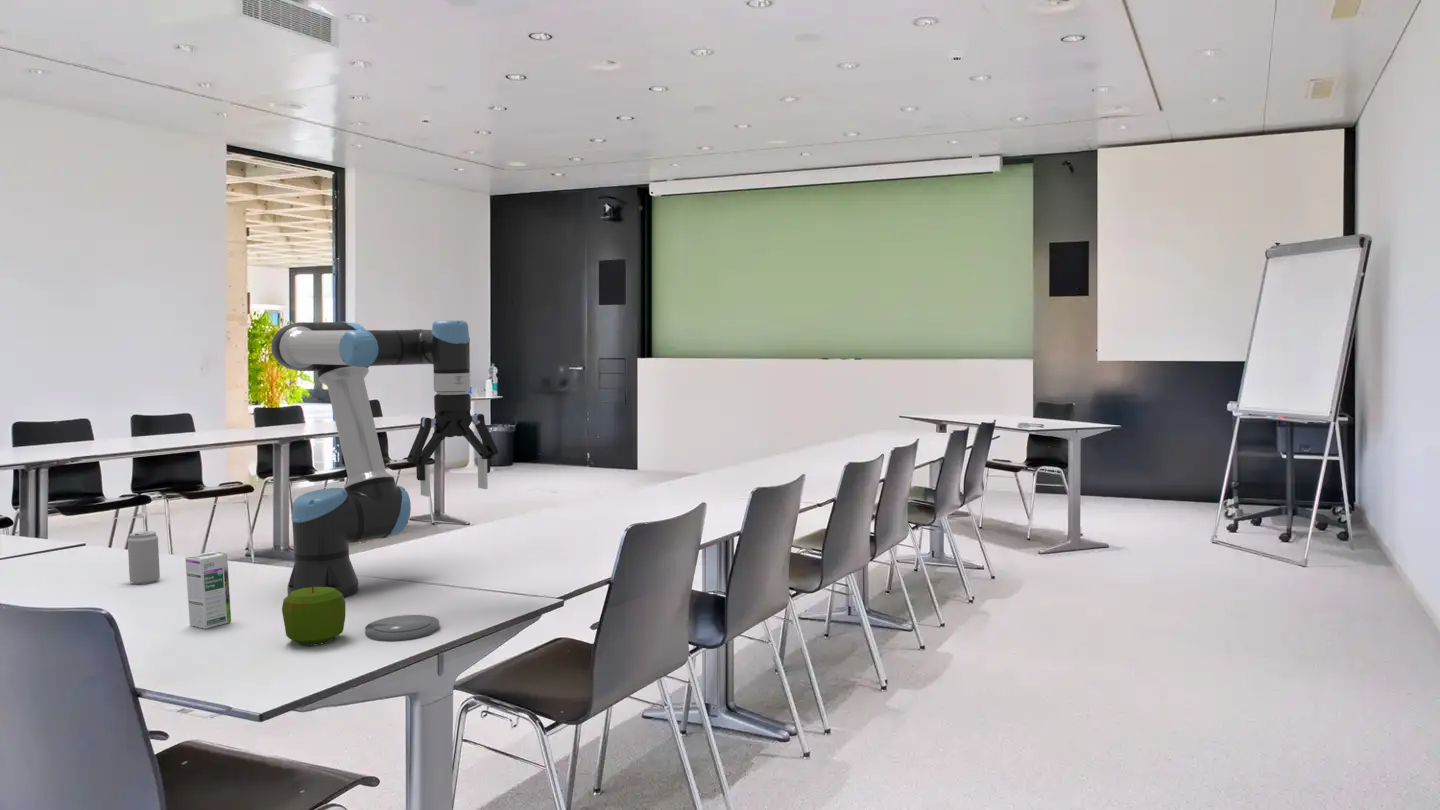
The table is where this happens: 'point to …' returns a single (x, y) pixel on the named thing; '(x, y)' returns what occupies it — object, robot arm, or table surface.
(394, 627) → the slate plate
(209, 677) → the table surface
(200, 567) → the syrup box
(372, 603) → the table surface
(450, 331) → the robot arm
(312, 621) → the apple
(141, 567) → the beverage can
